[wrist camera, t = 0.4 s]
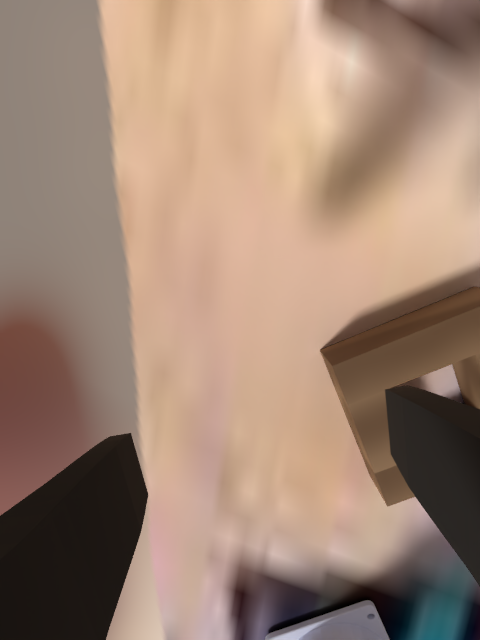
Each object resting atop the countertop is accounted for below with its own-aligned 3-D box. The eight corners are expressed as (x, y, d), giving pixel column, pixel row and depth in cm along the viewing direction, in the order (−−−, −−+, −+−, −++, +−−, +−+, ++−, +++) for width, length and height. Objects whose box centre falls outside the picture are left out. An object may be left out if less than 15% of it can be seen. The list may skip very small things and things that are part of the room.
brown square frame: (511, 422, 20) (548, 447, 18) (370, 475, 21) (387, 506, 19) (474, 286, 19) (510, 293, 16) (320, 350, 19) (332, 366, 17)
